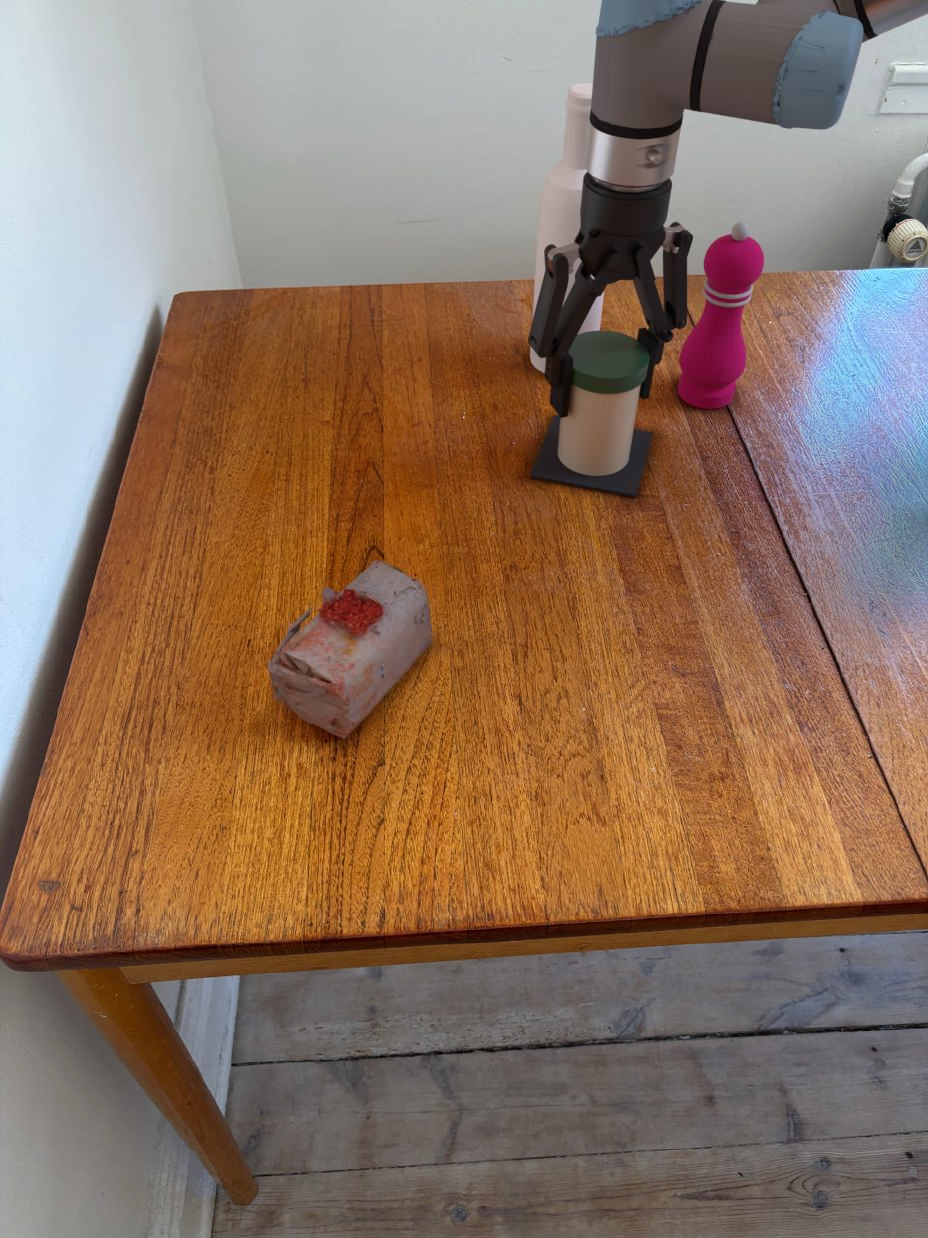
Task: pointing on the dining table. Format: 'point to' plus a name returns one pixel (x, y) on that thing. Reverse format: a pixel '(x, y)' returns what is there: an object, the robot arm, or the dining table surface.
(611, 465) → the jar
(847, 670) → the dining table surface
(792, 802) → the dining table surface
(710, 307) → the pepper mill
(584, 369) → the jar lid
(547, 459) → the mat
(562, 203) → the bottle
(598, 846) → the dining table surface
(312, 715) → the food item
